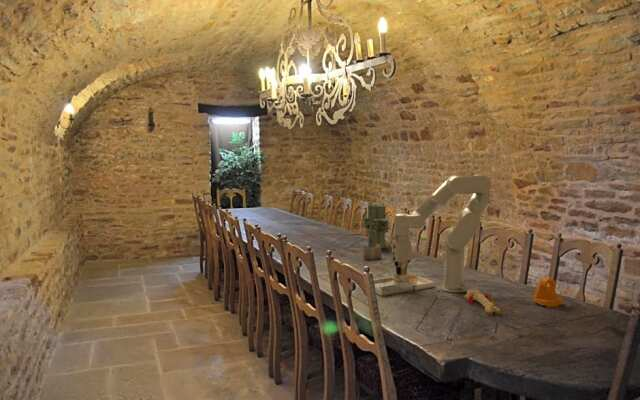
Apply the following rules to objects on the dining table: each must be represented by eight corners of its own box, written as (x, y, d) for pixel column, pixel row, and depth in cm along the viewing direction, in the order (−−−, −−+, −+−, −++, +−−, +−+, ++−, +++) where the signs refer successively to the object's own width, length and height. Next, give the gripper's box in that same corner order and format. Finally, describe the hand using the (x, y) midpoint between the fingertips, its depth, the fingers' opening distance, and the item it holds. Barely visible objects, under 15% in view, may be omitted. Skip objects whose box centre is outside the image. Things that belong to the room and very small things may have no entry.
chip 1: (412, 281, 259) (413, 275, 258) (406, 282, 256) (406, 276, 256) (407, 279, 263) (407, 273, 262) (400, 280, 260) (400, 274, 260)
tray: (434, 286, 259) (434, 281, 259) (415, 290, 253) (415, 285, 253) (415, 279, 272) (415, 275, 272) (396, 283, 266) (396, 278, 265)
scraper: (408, 282, 255) (409, 261, 253) (404, 283, 253) (404, 262, 252) (398, 279, 262) (398, 258, 260) (393, 279, 260) (394, 258, 259)
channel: (413, 289, 254) (413, 281, 253) (381, 296, 243) (381, 286, 243) (396, 283, 265) (396, 275, 264) (365, 289, 255) (365, 280, 254)
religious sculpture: (363, 244, 368) (363, 203, 364) (377, 243, 371) (378, 203, 367) (375, 251, 345) (375, 207, 342) (390, 250, 348) (391, 207, 345)
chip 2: (412, 285, 259) (416, 285, 260) (413, 276, 259) (417, 276, 260) (406, 283, 263) (411, 283, 264) (407, 274, 262) (412, 274, 264)
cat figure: (504, 317, 218) (479, 295, 242) (506, 298, 216) (480, 278, 240) (482, 318, 216) (459, 296, 241) (484, 299, 215) (460, 279, 239)
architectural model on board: (378, 258, 326) (378, 243, 325) (380, 259, 323) (381, 244, 322) (363, 259, 321) (363, 244, 320) (365, 260, 319) (365, 245, 318)
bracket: (541, 307, 227) (543, 281, 226) (532, 302, 234) (533, 276, 233) (563, 306, 228) (565, 280, 227) (554, 301, 236) (555, 276, 234)
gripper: (393, 240, 248) (393, 277, 250) (419, 237, 256) (418, 273, 258) (384, 238, 254) (384, 274, 256) (409, 235, 262) (408, 270, 264)
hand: (401, 273), depth 257 cm, fingers closed on scraper, 3 cm apart
